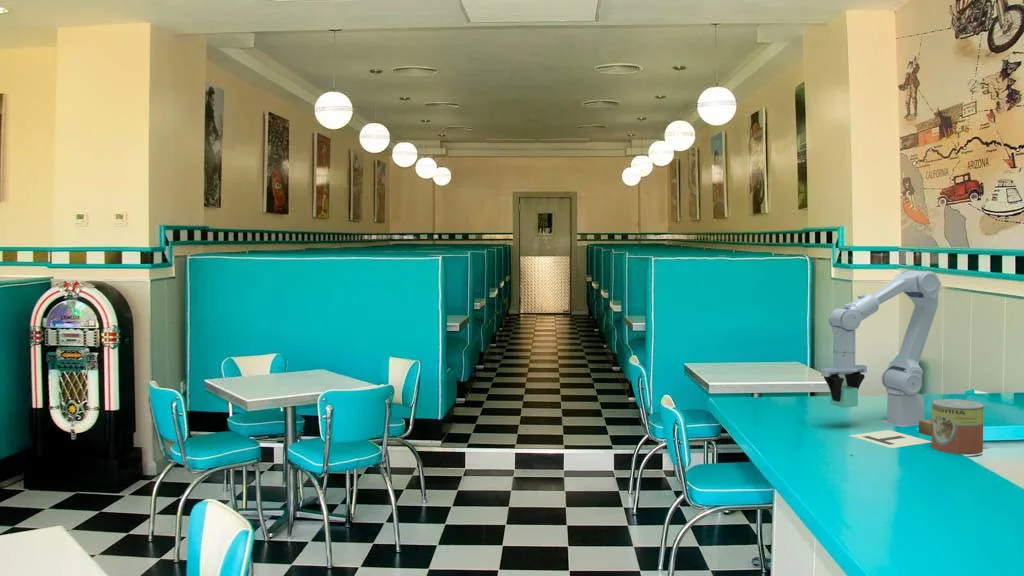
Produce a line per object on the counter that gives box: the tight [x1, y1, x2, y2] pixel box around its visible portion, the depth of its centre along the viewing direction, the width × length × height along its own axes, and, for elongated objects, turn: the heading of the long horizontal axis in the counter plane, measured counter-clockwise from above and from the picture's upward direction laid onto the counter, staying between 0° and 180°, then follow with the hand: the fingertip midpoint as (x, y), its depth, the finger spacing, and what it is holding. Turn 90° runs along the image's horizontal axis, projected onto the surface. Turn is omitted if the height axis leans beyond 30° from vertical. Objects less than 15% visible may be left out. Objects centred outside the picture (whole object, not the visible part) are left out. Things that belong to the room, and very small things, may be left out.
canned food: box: [931, 398, 985, 458], centre depth 194 cm, size 11×11×12 cm
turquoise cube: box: [829, 384, 859, 409], centre depth 218 cm, size 5×5×5 cm
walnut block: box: [918, 418, 932, 437], centre depth 209 cm, size 4×4×4 cm
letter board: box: [848, 429, 932, 449], centre depth 205 cm, size 14×14×1 cm
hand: (844, 400), depth 218 cm, fingers closed on turquoise cube, 5 cm apart
